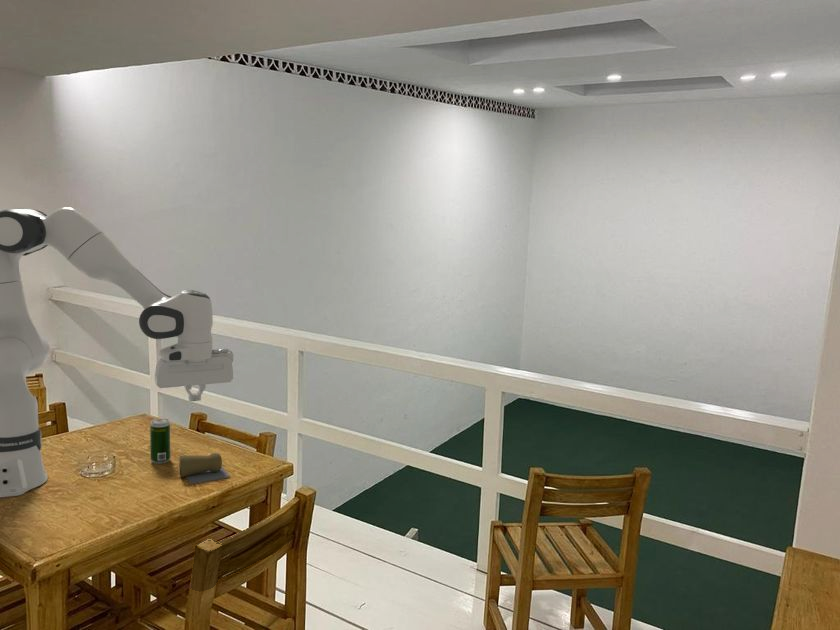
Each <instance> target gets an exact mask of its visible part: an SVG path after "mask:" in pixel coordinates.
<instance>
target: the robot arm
mask: <svg viewBox="0 0 840 630" xmlns="http://www.w3.org/2000/svg"><path fill="white" fill-rule="evenodd" d="M48 246H49V247H52V248H54V249H55V250H57V251H58V252H59V253H60V254H61V255H62V256H63V257H64V258H65V259H66V260H67V261H68V262H69V263H70V264H71V265H72V266H74V268H76V269H77V270H78V271H80V273H83V274H84V275H85V276H86V277H88V278H90V279H93V280H97V281H104V282H107V283H110V284H114V285H115V286H118V287H119V288H121V289H122V290H123V291H125V292H126V293H127V295H129V296H130V297H131V298H132V299H134V301H136V302H137V303H138V304H139V305H140V306H141V307H142V308H143V310H142V311H141V313H140V315H139V319H138V323H139V328H140V330H141V332H142V334H144V335H145V336H146V337H148V338H150V339H153V340H164V339H170V338H177V343H175V344H172V345H170V346H166V347H163V348H161V349H159V351H158V352H159V358H160V359H158V361H157V362H156V365H155V371H154V384H155V385H156V386H157V387H158V388H159V389H166V388H167V389H168V388H178V387H181V388H182V387H184V390H185V392H186V393H187V395H188V402H200V401H201V400H202V395H203V393H204V391H205V389H206V385H213V384H214V385H215V384H226V383H231V382H232V381H233V380H234V369H233V367H234V366H233V363H234V353H233V351H231V350H229V349H228V348H224V349H219V348H218V349H213V336H212V328H213V324H214V323H213V322H214V321H213V319H214V317H213V303H212V300H211V297H210V296H209V295H207V294H206V293H205V292H202V291H197V290H193V289H191V290H190V289H184V290H181V291H180V292H179V293H177V294H175V295H173V296H171V295H169V294H166V293H165V292H163V291H162V290H160V289H159V288H158V287H157V286H156V285H154V284H153V283H152V282H151V281H150V280H149V279H148V278H146V276H145V275H143V273H141V272H140V271H139V269H137V268H136V267H135V266H134V265H133V264H132V263H131V262H130V261H129V259H128V258H127V257H126V256H125V255H124V254H123V253H122V251H121V250H120V249H119V248H118V246H117V245H115V243H114V242H113V241H112V240H111V239H110V237H109V236H107V235H106V233H105V232H103V231H102V229H100V228H99V227H98V226H97V224H95V223H94V222H93V221H91V220H90V219H89V218H87V217H86V216H85V215H84V214H82V213H81V212H79V211H78V210H76V209H74V208H73V207H59V208H57V209H55V210H54V211H52V212H51V213H49V214H48V215H47V214H46V213H44V212H43V211H40V210H37V209H32V208H31V209H30V208H25V207H17V208H16V207H15V208H6V209H3V210H1V211H0V498H7V497H15V496H18V497H19V496H21V495H23V494H26V492H28V491H30V490H32V489H35V488H37V487H39V486H41V485H43V484H44V483H45V482H47V481H48V480H49V479H48V478H49V476H48V475H47V471H46V469H45V465H44V462H43V457H42V452H41V451H42V443H43V441H42V439H43V438H42V431H41V428H40V426H39V407H38V405H39V404H38V400H37V397H35V396H34V395H33V394H31V391H30V390H29V386H28V384H27V375H28V374H31V373H33V372H35V371H38V370H39V369H40V368H41V367H42V366H43V365H44V364H45V363H46V362H47V360H48V359H49V357H50V353H51V347H50V343H49V342H48V340H47V339H46V338H45V337H44V335H41V334H40V332H39V331H38V329H37V327H36V326H35V324H34V322H33V320H32V318H31V315H30V313H29V310H28V307H27V306H28V305H27V302H26V297H25V293H24V287H23V282H22V276H21V271H20V265H19V264H20V260H21V258H22V257H23V256H28V255H30V254H33V253H35V252H38V251H41V250H44V249H45V248H46V247H48ZM192 386H197V387H199V389H198V391H196V393H195V392H194V393H193V392H191V390H192Z"/></svg>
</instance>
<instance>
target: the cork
mask: <svg viewBox="0 0 840 630" xmlns="http://www.w3.org/2000/svg"><path fill="white" fill-rule="evenodd" d="M222 465H223V459H222V455H221V454H220V453H219V452H214V453H210V454H209V455H181V454H180V455H179V458H178V466H179V469H178V470H179V478H186V476H189V475H193V474H197V473H202V472H206V471H212V472H217V471H219V470H221V467H223V466H222Z"/></svg>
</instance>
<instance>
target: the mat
mask: <svg viewBox="0 0 840 630" xmlns="http://www.w3.org/2000/svg"><path fill="white" fill-rule="evenodd" d="M185 478H186V479H187V481H188V482H189V483H190V485H196V484H200V483H205V482H212V481H219V480H223V479H229V478H231V476H230V474H229V473H228V472H227V471H226V470H225V468H224V467H223V466H222V467H221V470H219V471H217V472H212V471H206V472H202V473H197V474H193V475H189V476H185Z"/></svg>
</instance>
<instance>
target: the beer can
mask: <svg viewBox="0 0 840 630" xmlns="http://www.w3.org/2000/svg"><path fill="white" fill-rule="evenodd" d="M149 434H150V435H149V436H150V437H149V438H150V439H149V443H150V445H149V447H150V461H151V463H152V464H157V465H161V464H166V463H168V462H169V461H170V459H171V423H170V420H169V419H168V418H155V419H152V420H151V421H150V424H149Z"/></svg>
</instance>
